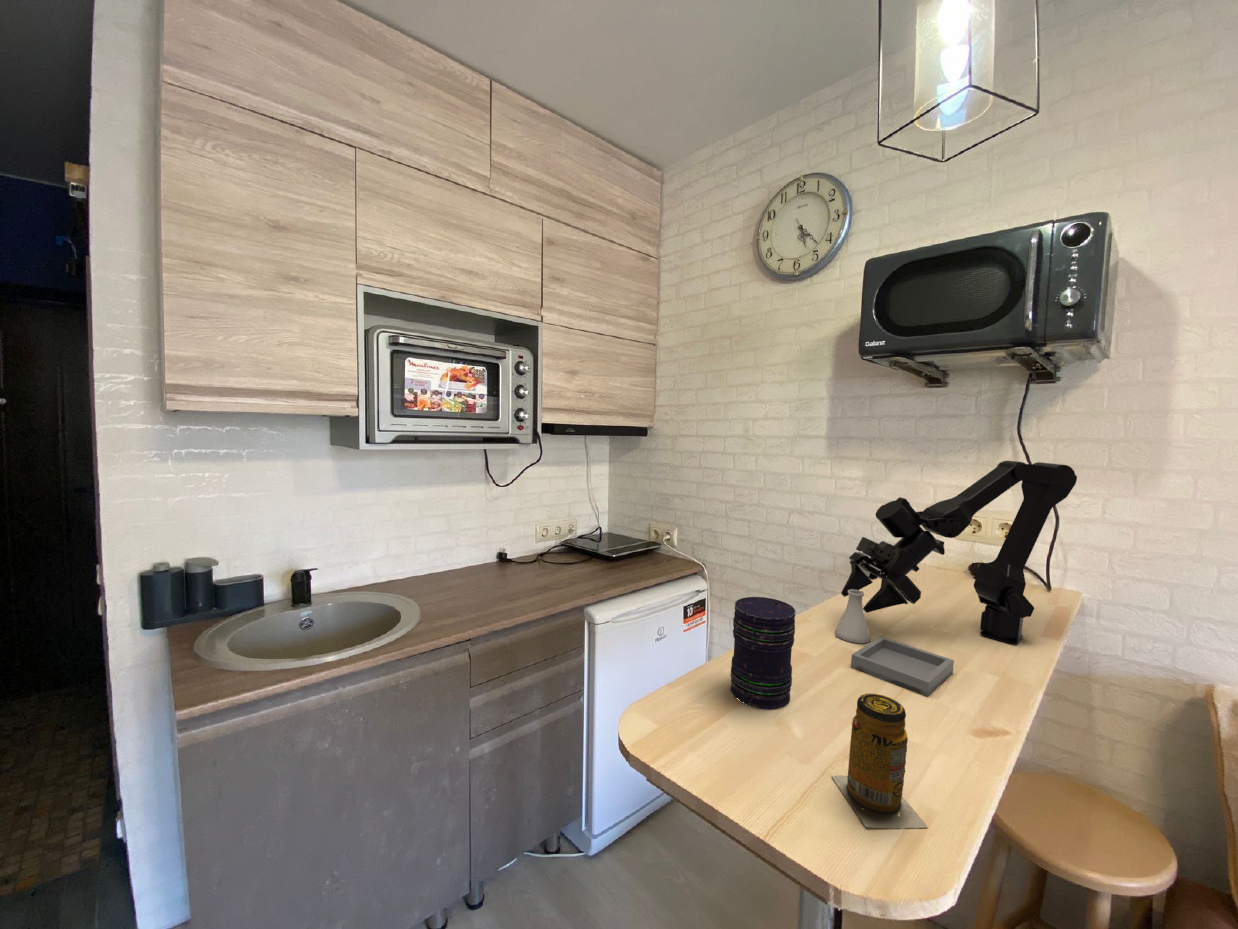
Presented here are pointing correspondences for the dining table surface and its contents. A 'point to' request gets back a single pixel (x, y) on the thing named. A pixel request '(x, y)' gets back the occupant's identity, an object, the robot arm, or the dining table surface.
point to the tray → (903, 665)
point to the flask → (853, 620)
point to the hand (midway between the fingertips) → (853, 602)
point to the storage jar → (762, 652)
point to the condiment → (878, 765)
